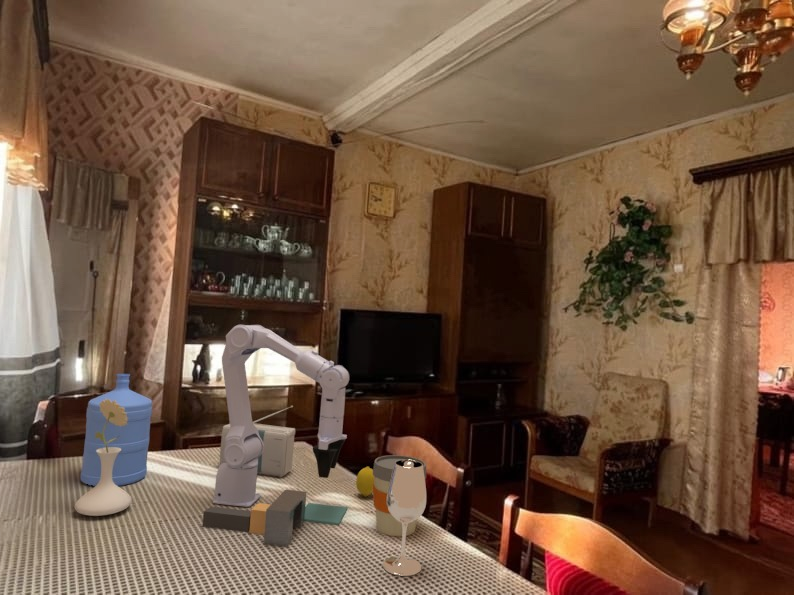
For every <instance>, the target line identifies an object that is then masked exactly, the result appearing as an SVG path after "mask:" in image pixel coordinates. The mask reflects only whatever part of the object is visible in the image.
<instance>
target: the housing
mask: <svg viewBox="0 0 794 595" xmlns="http://www.w3.org/2000/svg"><path fill="white" fill-rule="evenodd" d="M306 502H307V491H301V490H293V489H285V490H283V492H281V493H280V495H278V496H277V498H276V499H275V500H274V501H273V502H272V503H271V505H270V506H269V507H268V508H267V509H266V521H265V533H264V535H263V536H264V538H263V544H264V545H271V546H278V547H279V546H280V547H288V546H289V545H290V543H291V542H292V540H293V538H292V537H293V528H299V529H300V528H302V526H303V525H304V524H305V521H304V518H305V507H306V505H307V504H306Z"/></svg>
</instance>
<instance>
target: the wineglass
mask: <svg viewBox="0 0 794 595" xmlns="http://www.w3.org/2000/svg"><path fill="white" fill-rule="evenodd" d="M426 485H427V484H426V479H425V477H424V470H423V464H422V463H421V462H418V461H414V460H398V461H396V462H395V464H394V468H393V471H392V475H391V478H390V482H389V487H388V492H387V507H388V510H389V512H390V514H391V515H392V516H393V517H394V518H395V519H396V520H397V521H399V522H401V523H402V536H401V550H400V551H401V552H400V555H395V556H390V557H388V558H386V559H384V560H383V561H382V567H383V569H384V571H386V572H387V573H388V574H392V575H395V576H398V577H399V576H400V577H410V576H415V575H417V574H418V573H420V572H421V571H422V565H421V563H420V562H419V561H418V560H416V559H414V558H412V557H410V556H406V539H407V536H406V530H407V526H408V523H411V522H413V521H415V520H417V521H418V519H419V518H420V517H421V516H422V515H423V513H424V511H425V509H426V505H427V488H426Z"/></svg>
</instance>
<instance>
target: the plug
mask: <svg viewBox="0 0 794 595" xmlns="http://www.w3.org/2000/svg"><path fill="white" fill-rule="evenodd" d="M271 504H272V503H271ZM271 504H270V503H261V502H258V503H256V504H255V505H254V506H253V507H252V508H251V510H250V511H251V518H250V530H249V532H248V534H257V535H263V536H264V533H265V521H266V509H267V508H268V507H269V506H270V505H271Z"/></svg>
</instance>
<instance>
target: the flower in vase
mask: <svg viewBox="0 0 794 595" xmlns="http://www.w3.org/2000/svg"><path fill="white" fill-rule="evenodd" d="M101 402H102V403H101ZM101 402H100V411H101V412H102V413H103V415H104V416H105V417H106V419H107V421H106V423H105V425H104V428H103V432H102V434H101V433H100V432H98V431H97V433H96V435H95V436H94V437H96V438H99V439H100V440H102V441H103V440H104V444H105V448H100V449H98V450H96V452H97V453H98V455H99V456H100V459H101V478H100V481H99V483H98V484H97V485H96V486H93V488H91V489H90V490H88V491H87V492H86V493H85V494H83V495H82V496H81V497H80V498H79V499H77V501H76V502H75V505H74V509H75V511H76V512H77V513H78V514H81V515H84V516H92V517H99V516H108V515H112V514H116V513H119V512H122V511H124V510H125V509H128V507H130V505H131V504H132V502H133V500H132V499H133V498H132V496H131V495H130V494H129V493H128V492H127V491H125V490H124V489H122V487H121V486H117V485H115V484H114V482H113V480H112V470H113V465H114V461H115V458H116V456H117V455H118V453H119V452H120V451H121V448H117V447H107V443H109V442H111V441H113V440H115V439H116V438H114V439H112V440H110V441H108V442H107V443H106V441H105V438H104V430H105V427H106V425H107V423H108V421H110V422H111V423H114V424H115V425H116V426H120V427H121V426H124V425H127V420H128V418H127V414H126V413H125V412H124V411H125V409H124V408H122V407H121V406H120V405H119V404H117V403H116V401H115V400H113V401H112V402H111V401H110V399H105V401H101ZM120 407H121V408H120ZM118 437H119V436H118ZM118 437H117V438H118Z"/></svg>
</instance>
